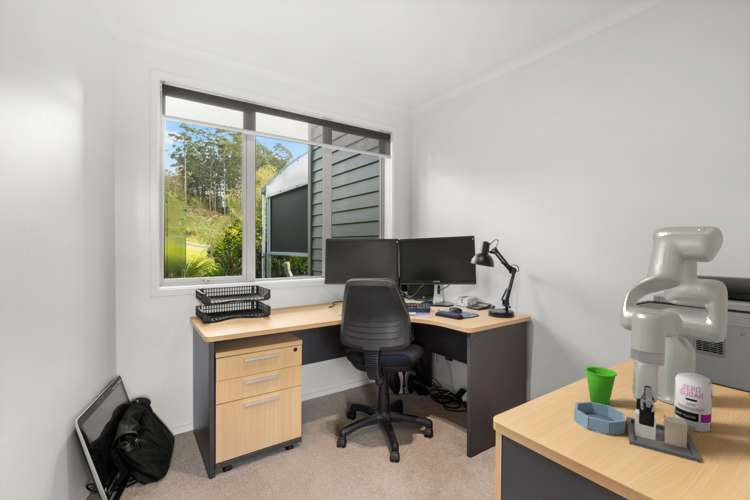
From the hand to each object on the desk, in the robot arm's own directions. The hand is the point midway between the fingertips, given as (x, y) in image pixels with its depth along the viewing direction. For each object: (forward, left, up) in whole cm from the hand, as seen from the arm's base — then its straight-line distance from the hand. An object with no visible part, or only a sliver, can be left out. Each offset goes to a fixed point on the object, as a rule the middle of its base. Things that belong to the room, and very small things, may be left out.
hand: (644, 418), depth 98 cm
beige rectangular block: (-1, +7, -5) cm, 8 cm away
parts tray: (-1, +3, -5) cm, 6 cm away
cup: (-18, -11, -6) cm, 21 cm away
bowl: (-1, -11, -5) cm, 12 cm away
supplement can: (-16, +12, -6) cm, 21 cm away
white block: (-1, 0, -5) cm, 5 cm away
